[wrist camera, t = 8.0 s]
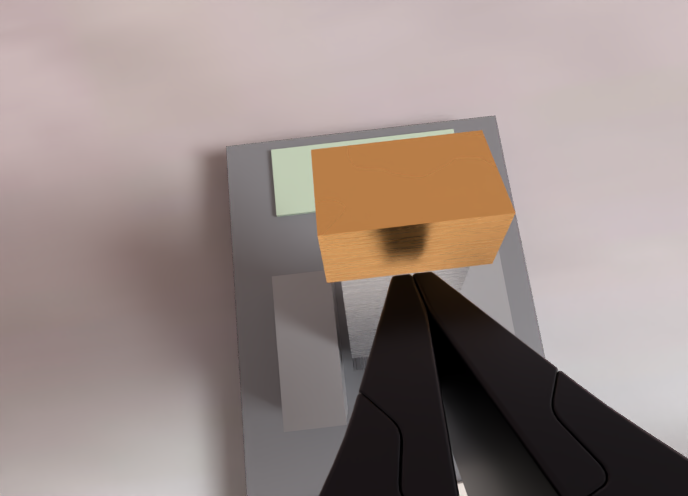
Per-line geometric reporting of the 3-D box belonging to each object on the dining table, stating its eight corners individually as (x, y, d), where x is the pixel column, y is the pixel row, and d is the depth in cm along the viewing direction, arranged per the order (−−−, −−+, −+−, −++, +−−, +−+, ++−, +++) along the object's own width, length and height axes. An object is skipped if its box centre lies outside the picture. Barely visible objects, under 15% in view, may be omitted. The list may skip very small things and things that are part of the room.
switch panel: (568, 553, 16) (647, 634, 12) (263, 589, 16) (229, 682, 12) (484, 131, 20) (521, 74, 16) (235, 160, 20) (202, 111, 16)
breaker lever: (443, 370, 16) (515, 213, 8) (346, 381, 16) (317, 235, 8) (430, 315, 17) (482, 130, 9) (341, 325, 17) (310, 149, 9)
